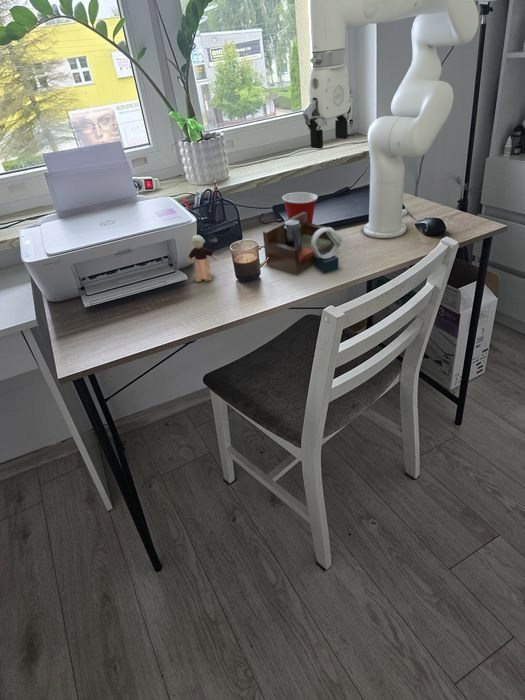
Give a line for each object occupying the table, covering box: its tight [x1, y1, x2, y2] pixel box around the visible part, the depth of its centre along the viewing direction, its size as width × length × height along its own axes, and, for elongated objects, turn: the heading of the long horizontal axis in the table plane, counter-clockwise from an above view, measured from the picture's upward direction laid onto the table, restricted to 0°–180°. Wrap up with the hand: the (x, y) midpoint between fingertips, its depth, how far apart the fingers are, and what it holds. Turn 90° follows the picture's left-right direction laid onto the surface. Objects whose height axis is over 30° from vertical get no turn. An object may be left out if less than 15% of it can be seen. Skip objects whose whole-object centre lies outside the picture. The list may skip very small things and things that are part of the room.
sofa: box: [262, 212, 335, 276], centre depth 128 cm, size 17×11×10 cm, turn 136°
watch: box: [311, 226, 343, 274], centre depth 122 cm, size 6×8×11 cm
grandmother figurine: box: [187, 234, 217, 283], centre depth 123 cm, size 8×4×13 cm, turn 99°
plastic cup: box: [282, 191, 319, 224], centre depth 143 cm, size 11×11×12 cm
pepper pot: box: [284, 220, 302, 253], centre depth 124 cm, size 4×4×8 cm
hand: (329, 142), depth 111 cm, fingers open, 9 cm apart
